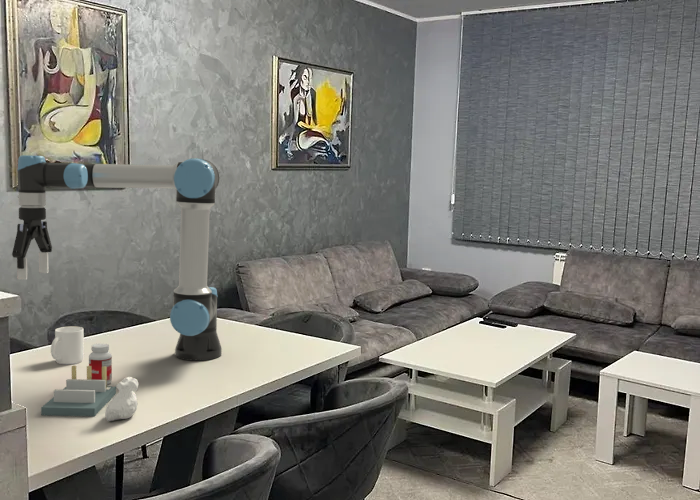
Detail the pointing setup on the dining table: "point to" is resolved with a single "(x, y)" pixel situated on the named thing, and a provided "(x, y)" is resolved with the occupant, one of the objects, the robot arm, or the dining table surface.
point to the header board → (80, 396)
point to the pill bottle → (100, 361)
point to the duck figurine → (123, 400)
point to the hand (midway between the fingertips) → (33, 276)
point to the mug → (68, 345)
